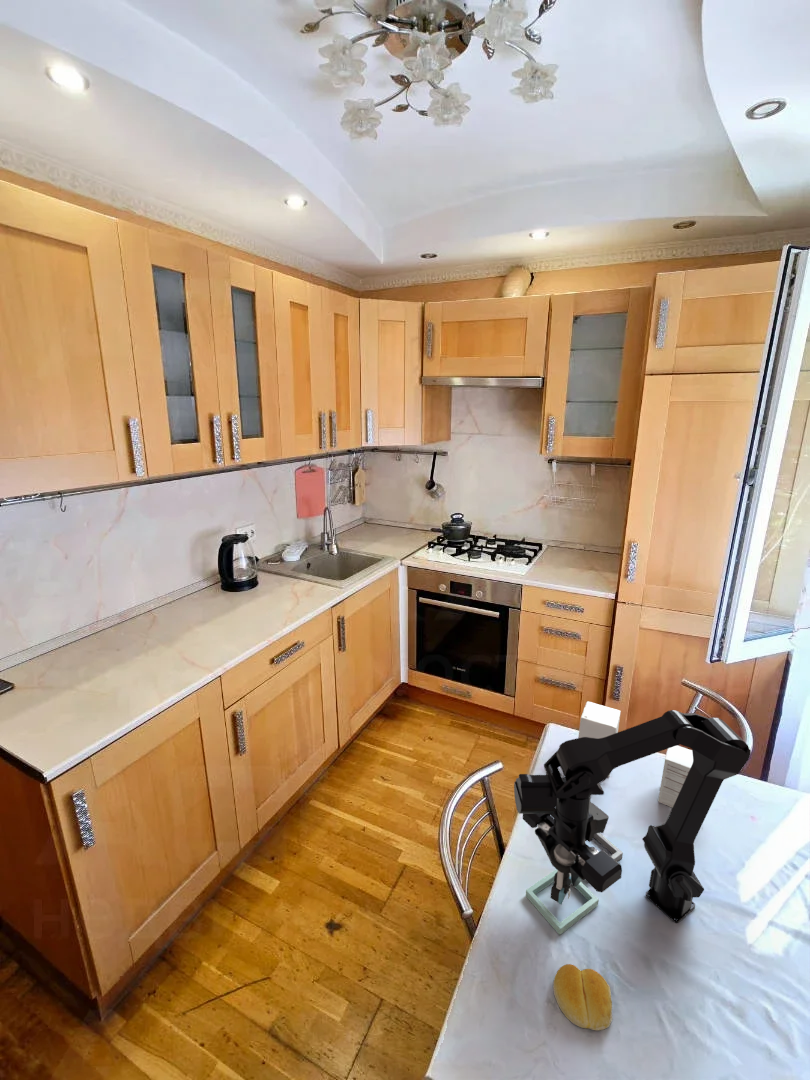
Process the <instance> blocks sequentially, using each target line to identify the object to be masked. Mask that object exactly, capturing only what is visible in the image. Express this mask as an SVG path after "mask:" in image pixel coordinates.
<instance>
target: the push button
mask: <svg viewBox="0 0 810 1080" xmlns="http://www.w3.org/2000/svg"><path fill="white" fill-rule="evenodd" d="M554 855H555V858H554ZM550 858H551V862H550V863H552V864H551V865H552V867H554V869H555V870H556V869H557V870H558V872H556V873H555V876H554V882H553V883H552V886H551V888H550V899H552V900H553V901H554V902H556V903H558V904H559V905H563V902H564V900H565V899H566V897H567V899H568V900H569V899H570V897H571V892H572V891H571V886H572V883H571V877H570V876H571V871H570V866H572V865H573V864H574V861H575V863H576V862H577V861H578V860H579V855H578V856H575V855H574V854H572V853H571V852H568V851H567V850H566V849H565V848H564V847H563V846H562V845H561V844H556V845H554V846H553V847H552V848H551V849H550Z"/></svg>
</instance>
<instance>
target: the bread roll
mask: <svg viewBox="0 0 810 1080" xmlns="http://www.w3.org/2000/svg"><path fill="white" fill-rule="evenodd" d="M553 979H554V980H553V984H552V986H553V994H554V997H555V1001H556V1003H557V1005H558V1007H559V1009H560V1011H561V1012H562V1013H563V1015H564V1016H565V1018H567V1020H568V1021H569V1022H571V1023H572V1024H573V1025H576V1026H577V1027H579V1028H581V1029H589V1030H592V1031H603V1030H605V1029H607V1028H609V1027H610V1025H611V1024H612V1021H613V1020H614V1019H613V1001H612V994H611V986H610V985H609V984H608V982H607V981H606V979H605V978H604V977H603V976H602V975H601V974H600V972H598V971H596V970H594V969H592V968H585V969H583V970H581V969H579V968H578V967H577V966H576V965H574V964H571V963H570V964H568V963H567V964H564V965H562V966H561V967H559V969H558V970H557V971H556V973H555V976H554V978H553Z"/></svg>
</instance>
